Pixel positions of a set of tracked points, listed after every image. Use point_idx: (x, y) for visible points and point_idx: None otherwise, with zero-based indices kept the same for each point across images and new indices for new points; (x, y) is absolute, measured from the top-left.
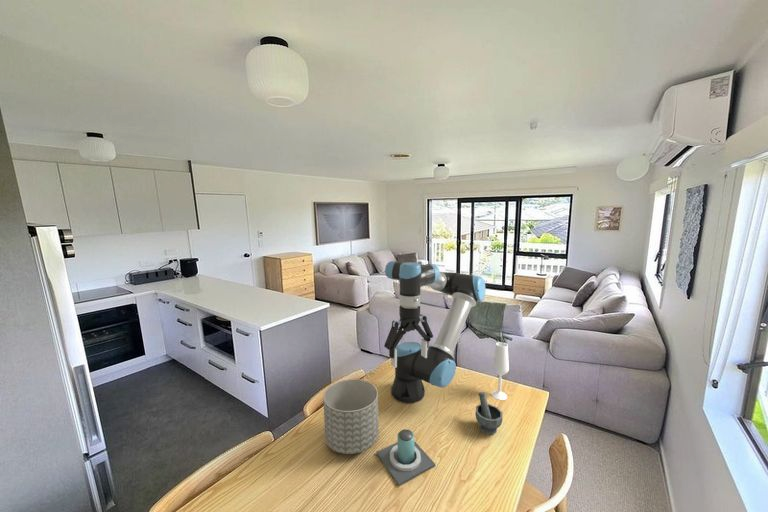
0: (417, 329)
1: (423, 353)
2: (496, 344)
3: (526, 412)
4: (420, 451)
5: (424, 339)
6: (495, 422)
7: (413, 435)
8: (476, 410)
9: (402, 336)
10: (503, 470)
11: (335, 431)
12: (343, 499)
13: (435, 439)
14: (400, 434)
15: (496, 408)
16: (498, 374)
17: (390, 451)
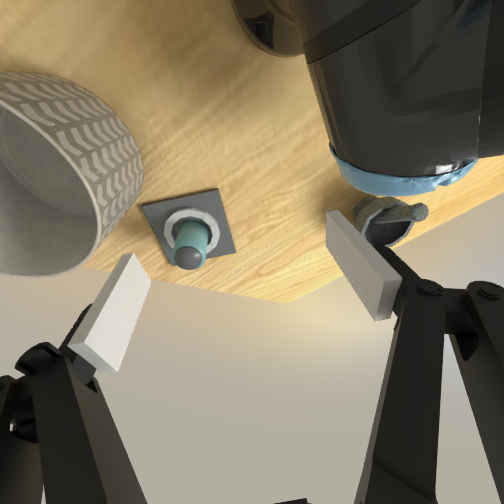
0: (360, 487)
1: (333, 242)
2: None
3: (467, 196)
4: (223, 227)
5: (397, 298)
6: None
7: (203, 259)
8: (371, 216)
9: (137, 485)
10: (316, 275)
11: (10, 224)
12: (89, 262)
13: (264, 205)
14: (176, 257)
15: (410, 222)
16: None
17: (167, 221)
